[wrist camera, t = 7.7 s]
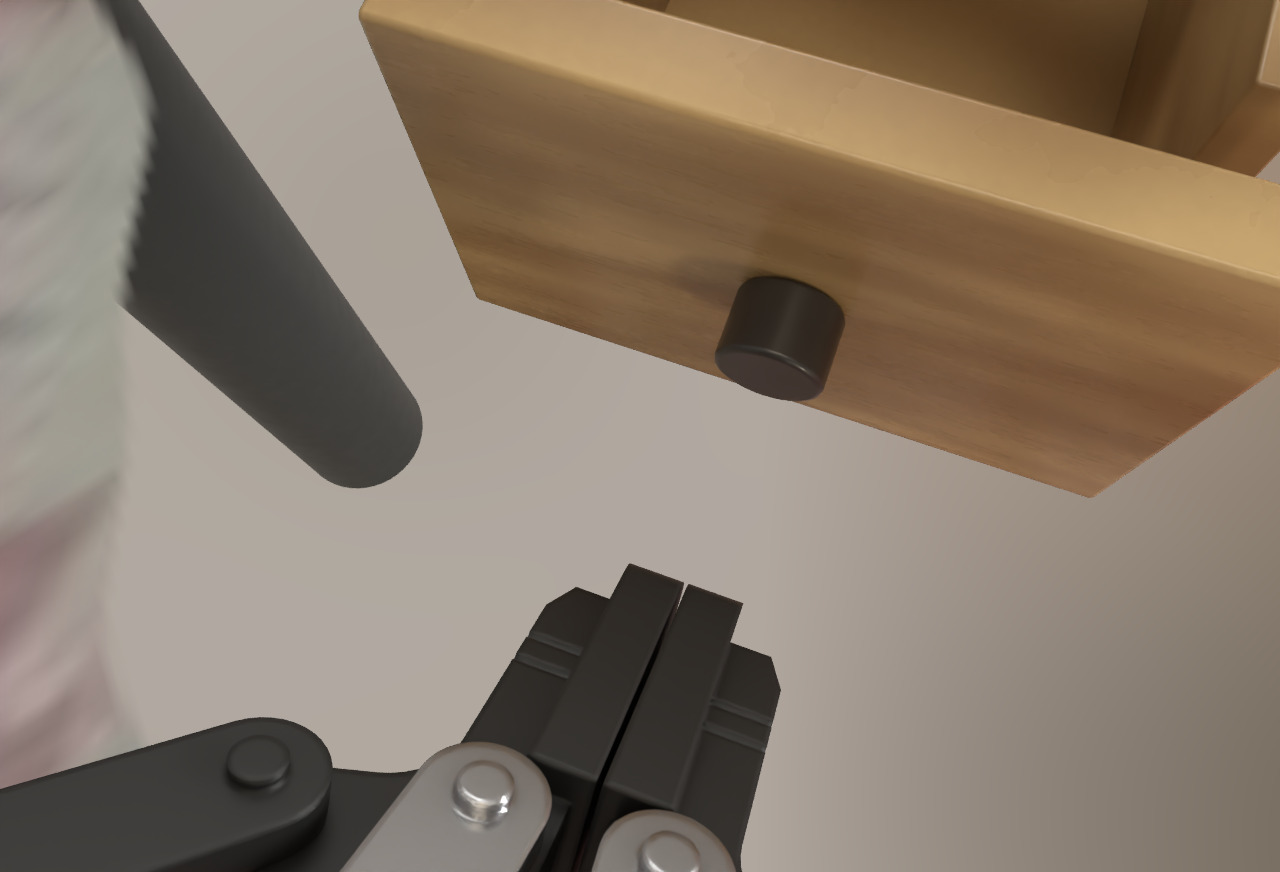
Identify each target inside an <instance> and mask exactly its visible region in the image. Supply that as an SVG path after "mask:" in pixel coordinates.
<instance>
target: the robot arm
mask: <svg viewBox="0 0 1280 872" xmlns="http://www.w3.org/2000/svg"><path fill="white" fill-rule="evenodd" d="M683 586H684V583H683V582H681V581H678V580H675V579H673V578H670V577H667V576H664V575H661V574H659V573H655V572H653V571H650V570H647V569H644V568H641V567H638V566H636V565H633V564H629V565H628V566H627V568H626V570H625V571H624V573H623V575H622V577H621V579H620V581H619V583H618V584H617V586H616V588H615V590H614V592H613V594H612V596H611V598H610V599H608V598H605V597H602V596H600V595H597V594H594V593H592V592H589V591H586V590H583V589H580V588H578V587H575V588H574V589H572V590H571V591H569V592H567V593H565V594H564V595H562V596H560V597H558V598H557V599H555V600H553V601H552V602H550V603H548V604H547V605H546V606H545V608H544V609H543V611H542V612H541V614H540V616H539V617H538V619H537V621H536V622H535V624H534V626H533V627H532V629H531V630H530V633H529V636H528V637H526V638H525V640H524V642H523V643H522V645H521V646H520V648H519V650H518V651H517V653H516V656H515V658H514V659H512V661H511V663H510V664H509V666H508V668H507V669H506V671H505V672H504V674H503V676H502V677H501V679H500V681H499V682H498V684H497V685H496V687H495V689H494V690H493V692H492V693H491V695H490V697H489V698H488V700H487V702H486V703H485V705H484V706H483V708H482V710H481V711H480V713H479V715H478V716H477V718H476V719H475V721H474V723H473V724H472V726H471V727H470V729H469V731H468V732H467V734H466V736H465V737H464V739H463V740H462V741H461V743H460V744H456V745H453V746H450V747H447V748H445V749H443V750H441V751H439V752H437V753H435V754H434V755H433V756H432V757H430V758H429V759H428V760H427V761H426V762H425V763H424V764H423V765H422V766H421V767H420V769H417V770H413V771H407V772H398V773H377V772H368V771H358V770H347V769H338V768H332V761H331V756H330V753H329V751H328V749H327V747H326V746H325V745H324V743H323V742H322V740H321V739H320V738H319V737H318V736H317V735H316V734H315V733H313V732H312V731H310V730H309V729H307V728H305V727H303V726H301V725H299V724H297V723H294V722H291V721H287V720H284V719H277V718H264V717H262V718H261V717H259V718H248V719H243V720H238V721H234V722H230V723H227V724H224V725H220V726H217V727H213V728H210V729H206V730H203V731H200V732H196V733H192V734H189V735H185V736H182V737H179V738H175V739H172V740H168V741H165V742H161V743H158V744H154V745H151V746H147V747H144V748H141V749H137V750H134V751H130V752H127V753H123V754H120V755H116V756H113V757H110V758H106V759H103V760H99V761H96V762H92V763H89V764H85V765H82V766H78V767H75V768H72V769H68V770H65V771H61V772H58V773H54V774H51V775H47V776H44V777H41V778H37V779H34V780H30V781H27V782H23V783H20V784H16V785H13V786H10V787H6V788H3V789H0V872H742V870H741V857H740V855H741V849H742V843H743V840H744V835H745V832H746V828H747V823H748V819H749V816H750V811H751V808H752V803H753V800H754V795H755V792H756V788H757V783H758V780H759V775H760V771H761V767H762V763H763V759H764V755H765V750H766V747H767V743H768V739H769V735H770V731H771V726H772V722H773V719H774V715H775V711H776V707H777V703H778V699H779V695H780V691H781V689H780V686H779V682H778V679H777V676H776V673H775V669H774V665H773V662H772V659H771V657H769V656H767V655H764V654H761V653H758V652H756V651H753V650H750V649H747V648H744V647H742V646H739V645H736V644H734V643H731V642H730V641H731V638H732V635H733V632H734V629H735V626H736V623H737V620H738V617H739V614H740V611H741V608H742V605H743V603H741V602H738V601H735V600H732V599H730V598H727V597H724V596H721V595H718V594H716V593H713V592H709V591H707V590H704V589H701V588H699V587H696V586H693V585H690V584H688V586H687V588H686V590H685V592H684V595H683V597H682V600H681V602H680V605H679V607H678V604H679V600H680V597H681V594H682V590H683ZM677 607H678V609H677Z"/></svg>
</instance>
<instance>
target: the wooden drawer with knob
mask: <svg viewBox="0 0 1280 872" xmlns="http://www.w3.org/2000/svg"><path fill="white" fill-rule="evenodd" d="M359 20H360V22H361V25H362V27H363V29H364V32H365V34H366V36H367V39H368V41H369V44H370V46H371V48H372V51H373V53H374V55H375V58H376V60H377V62H378V65H379V67H380V70H381V72H382V74H383V77H384V79H385V81H386V84H387V86H388V89H389V91H390V93H391V96H392V98H393V100H394V103H395V105H396V107H397V110H398V112H399V115H400V117H401V119H402V122H403V124H404V126H405V129H406V131H407V133H408V136H409V138H410V141H411V143H412V145H413V147H414V150H415V152H416V155H417V157H418V159H419V162H420V164H421V167H422V169H423V171H424V174H425V176H426V178H427V181H428V183H429V186H430V188H431V190H432V192H433V195H434V197H435V199H436V202H437V204H438V207H439V209H440V212H441V214H442V216H443V219H444V221H445V223H446V226H447V228H448V230H449V233H450V235H451V237H452V240H453V242H454V245H455V247H456V249H457V251H458V254H459V256H460V259H461V261H462V264H463V266H464V268H465V270H466V273H467V275H468V278H469V280H470V282H471V285H472V287H473V290H474V292H475V294H476V297H477V298H479V299H480V300H483V301H486V302H490V303H492V304H495V305H498V306H502V307H505V308H508V309H511V310H514V311H517V312H520V313H523V314H526V315H529V316H532V317H536V318H538V319H542V320H545V321H548V322H551V323H554V324H557V325H560V326H563V327H566V328H569V329H573V330H575V331H578V332H581V333H584V334H588V335H591V336H594V337H597V338H600V339H603V340H606V341H609V342H613V343H615V344H618V345H621V346H624V347H628V348H631V349H634V350H637V351H640V352H643V353H646V354H649V355H652V356H655V357H659V358H662V359H665V360H667V361H671V362H674V363H677V364H680V365H683V366H686V367H689V368H692V369H695V370H698V371H702V372H704V373H707V374H710V375H714V376H717V377H720V378H723V379H726V380H729V381H732V382H735V383H737V384H739V385H741V386H743V387H745V388H747V389H749V390H751V391H754V392H756V393H759V394H762V395H765V396H768V397H772V398H776V399H781V400H788V401H793V402H797V403H800V404H803V405H806V406H809V407H812V408H815V409H818V410H821V411H824V412H827V413H831V414H833V415H836V416H839V417H843V418H846V419H849V420H852V421H855V422H858V423H861V424H864V425H868V426H870V427H874V428H877V429H879V430H883V431H886V432H889V433H892V434H895V435H898V436H901V437H904V438H907V439H910V440H913V441H916V442H920V443H922V444H926V445H929V446H932V447H935V448H938V449H941V450H944V451H947V452H950V453H953V454H956V455H959V456H962V457H965V458H969V459H972V460H975V461H978V462H981V463H984V464H987V465H990V466H993V467H996V468H1000V469H1003V470H1006V471H1008V472H1012V473H1015V474H1018V475H1021V476H1024V477H1027V478H1030V479H1033V480H1036V481H1040V482H1042V483H1045V484H1049V485H1052V486H1055V487H1058V488H1061V489H1064V490H1067V491H1070V492H1073V493H1076V494H1079V495H1082V496H1085V497H1089V498H1090V497H1094V496H1096V495H1097V494H1098V493H1100V492H1101V491H1103V490H1104V489H1106V488H1107V487H1109V486H1110V485H1111V484H1113V483H1114V482H1116V481H1117V480H1119V479H1120V478H1122V477H1123V476H1124V475H1126V474H1127V473H1129V472H1130V471H1132V470H1133V469H1134V468H1136V467H1137V466H1139V465H1140V464H1142V463H1143V462H1144V461H1146V460H1148V459H1149V458H1150V457H1152V456H1153V455H1155V454H1156V453H1158V452H1159V451H1161V450H1162V449H1163V448H1165V447H1166V446H1168V445H1169V444H1171V443H1172V442H1173V441H1175V440H1176V439H1178V438H1179V437H1181V436H1182V435H1183V434H1185V433H1186V432H1188V431H1189V430H1190V429H1192V428H1194V427H1195V426H1196V425H1198V424H1199V423H1201V422H1202V421H1204V420H1205V419H1206V418H1208V417H1210V416H1211V415H1212V414H1214V413H1215V412H1217V411H1218V410H1220V409H1221V408H1222V407H1224V406H1225V405H1227V404H1228V403H1230V402H1231V401H1233V400H1234V399H1236V398H1237V397H1238V396H1240V395H1241V394H1243V393H1244V392H1246V391H1247V390H1249V389H1250V388H1251V387H1253V386H1254V385H1256V384H1257V383H1259V382H1260V381H1261V380H1263V379H1264V378H1266V377H1267V376H1269V375H1270V374H1272V373H1273V372H1274V371H1276V370H1277V369H1279V368H1280V184H1277V183H1273V182H1270V181H1266V180H1262V179H1259V178H1255V177H1256V176H1257V175H1258V174H1259V173H1260V172H1261V171H1262V170H1263V168H1264V167H1265V166H1266V165H1267V164H1268V163H1269V162H1270V161H1271V160H1272V159H1273V158H1274V157H1275V156H1276V155H1277V154H1278V153H1279V152H1280V0H364V2H363V4H362V6H361V8H360V11H359Z"/></svg>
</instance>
